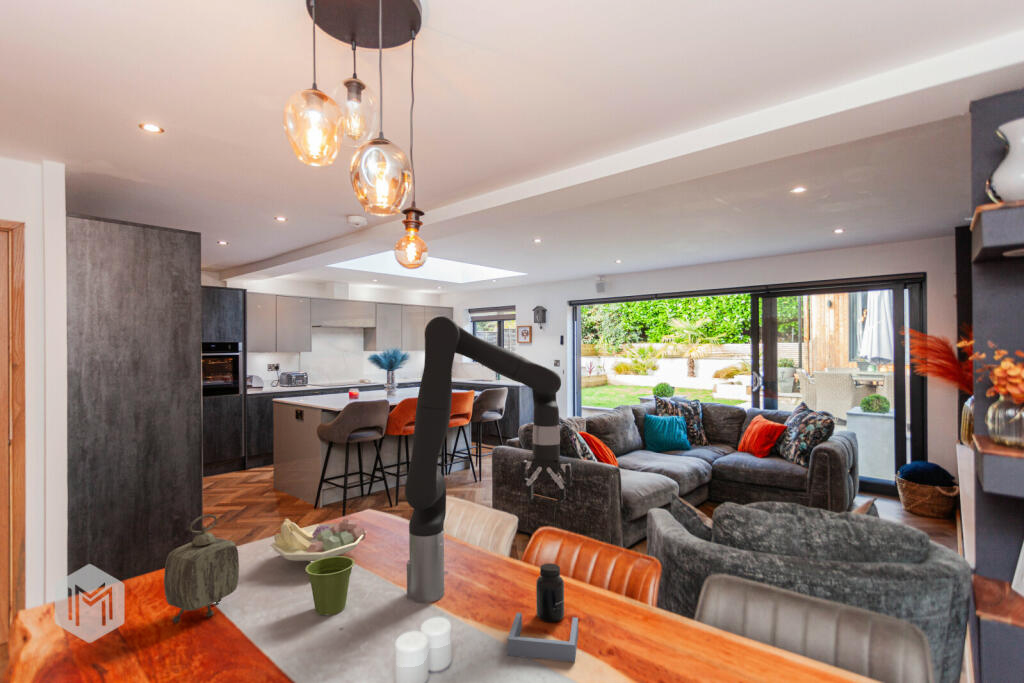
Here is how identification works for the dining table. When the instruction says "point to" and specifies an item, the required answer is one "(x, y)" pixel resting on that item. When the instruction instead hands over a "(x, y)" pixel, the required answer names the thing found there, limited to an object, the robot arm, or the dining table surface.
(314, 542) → the dish with food
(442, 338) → the robot arm
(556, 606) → the supplement bottle
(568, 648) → the bay
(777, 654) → the dining table surface
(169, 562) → the tabletop clock
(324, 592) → the plant pot
